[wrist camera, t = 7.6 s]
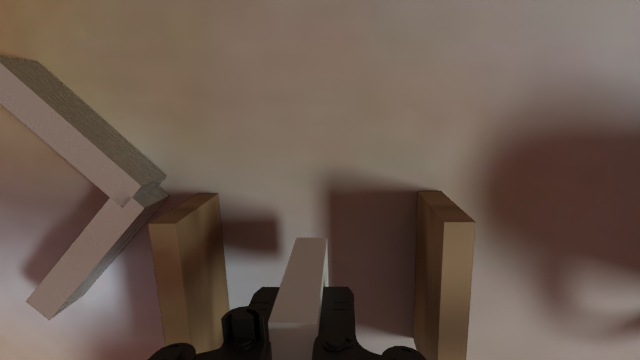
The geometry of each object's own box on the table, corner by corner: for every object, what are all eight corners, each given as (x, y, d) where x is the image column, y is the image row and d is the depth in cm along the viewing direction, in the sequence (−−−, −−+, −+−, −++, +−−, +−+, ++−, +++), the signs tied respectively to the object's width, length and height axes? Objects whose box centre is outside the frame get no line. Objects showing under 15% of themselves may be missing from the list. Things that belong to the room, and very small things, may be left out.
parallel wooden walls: (197, 193, 19) (148, 223, 15) (440, 191, 18) (475, 222, 14) (212, 334, 21) (173, 402, 16) (434, 339, 20) (462, 413, 15)
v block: (17, 61, 18) (-32, 55, 16) (151, 56, 18) (121, 48, 16) (65, 295, 21) (30, 320, 19) (182, 296, 21) (160, 322, 18)
